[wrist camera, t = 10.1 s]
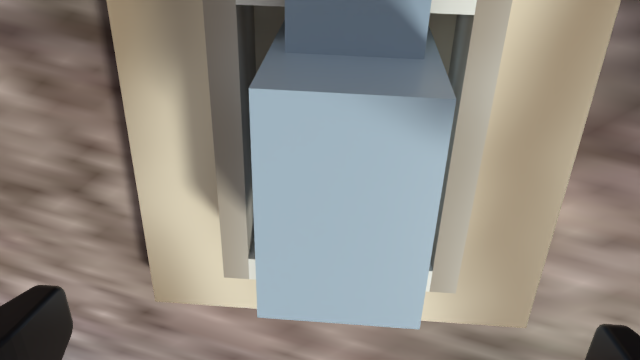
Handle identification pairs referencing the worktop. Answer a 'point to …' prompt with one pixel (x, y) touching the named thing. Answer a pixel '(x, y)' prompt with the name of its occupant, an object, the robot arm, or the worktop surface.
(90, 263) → the worktop surface
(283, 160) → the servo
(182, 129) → the chassis pocket
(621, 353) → the robot arm
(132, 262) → the worktop surface
